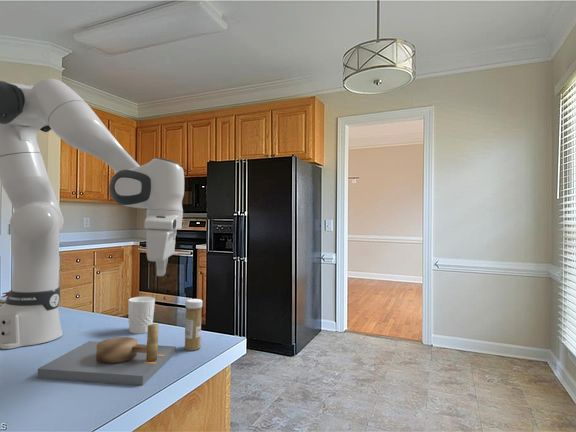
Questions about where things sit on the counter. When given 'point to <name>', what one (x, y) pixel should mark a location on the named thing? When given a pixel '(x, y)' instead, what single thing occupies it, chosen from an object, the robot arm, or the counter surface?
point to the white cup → (140, 314)
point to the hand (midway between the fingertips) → (160, 275)
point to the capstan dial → (128, 347)
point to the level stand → (104, 366)
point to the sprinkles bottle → (193, 324)
